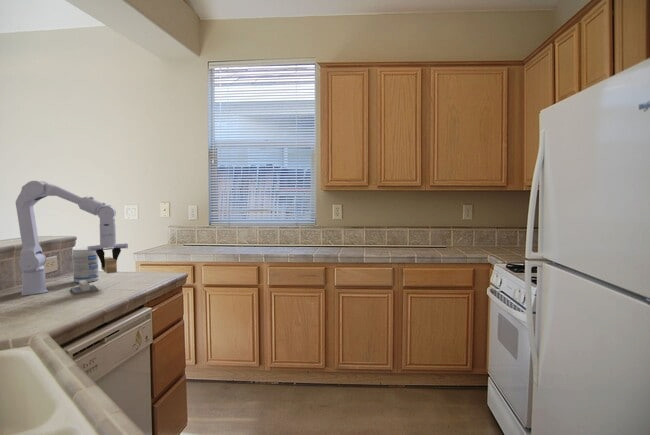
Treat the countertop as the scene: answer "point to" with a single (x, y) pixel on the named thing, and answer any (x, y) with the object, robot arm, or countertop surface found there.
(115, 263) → the oak stick
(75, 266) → the supplement tub
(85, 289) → the fulcrum stand
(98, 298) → the countertop surface
